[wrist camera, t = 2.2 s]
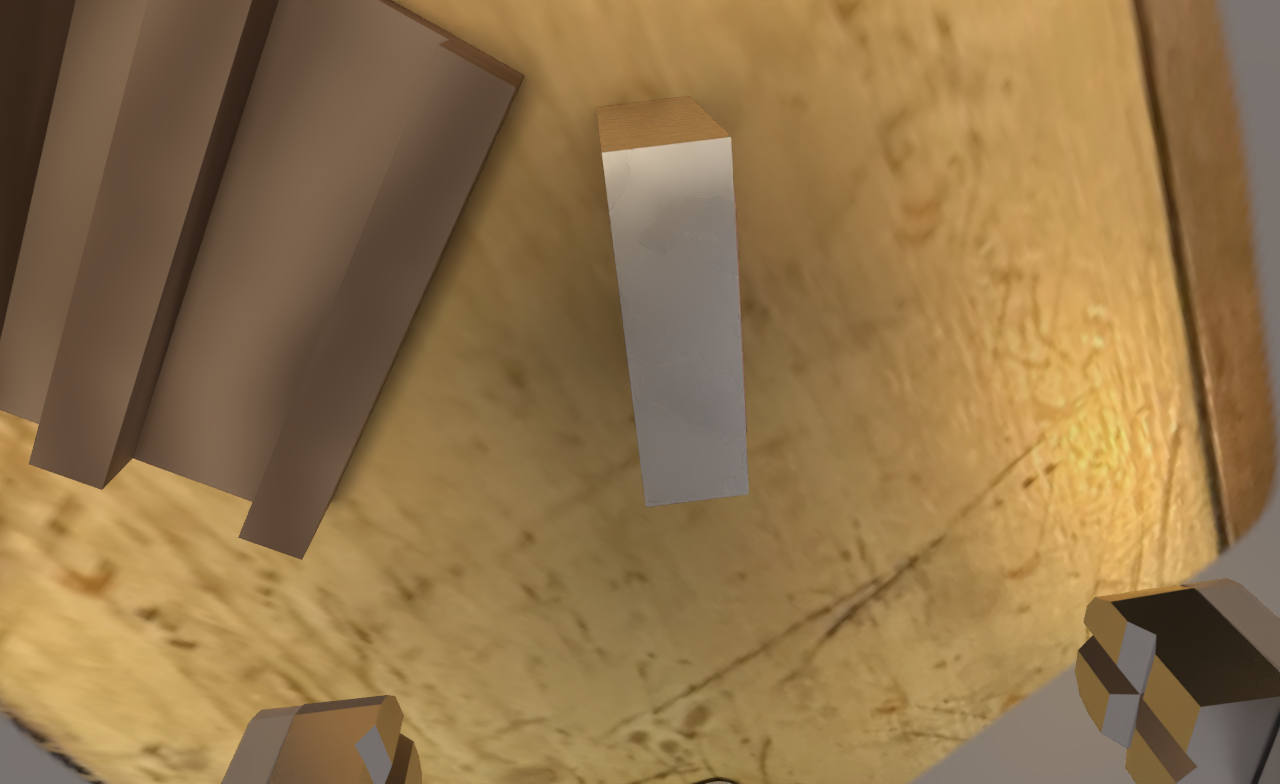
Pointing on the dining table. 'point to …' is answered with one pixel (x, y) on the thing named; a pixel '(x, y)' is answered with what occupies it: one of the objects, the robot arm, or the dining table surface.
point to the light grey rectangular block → (678, 295)
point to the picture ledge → (225, 231)
